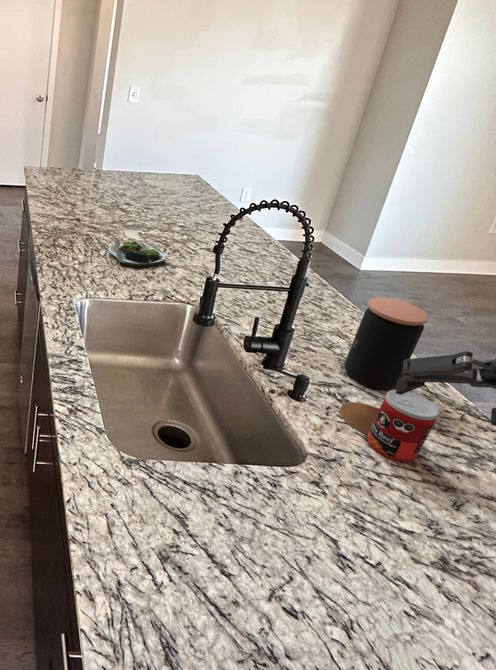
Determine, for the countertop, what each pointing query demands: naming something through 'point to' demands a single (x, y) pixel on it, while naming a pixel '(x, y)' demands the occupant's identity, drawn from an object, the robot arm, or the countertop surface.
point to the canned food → (402, 425)
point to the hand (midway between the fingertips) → (445, 401)
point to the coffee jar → (384, 342)
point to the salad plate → (136, 254)
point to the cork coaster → (359, 416)
